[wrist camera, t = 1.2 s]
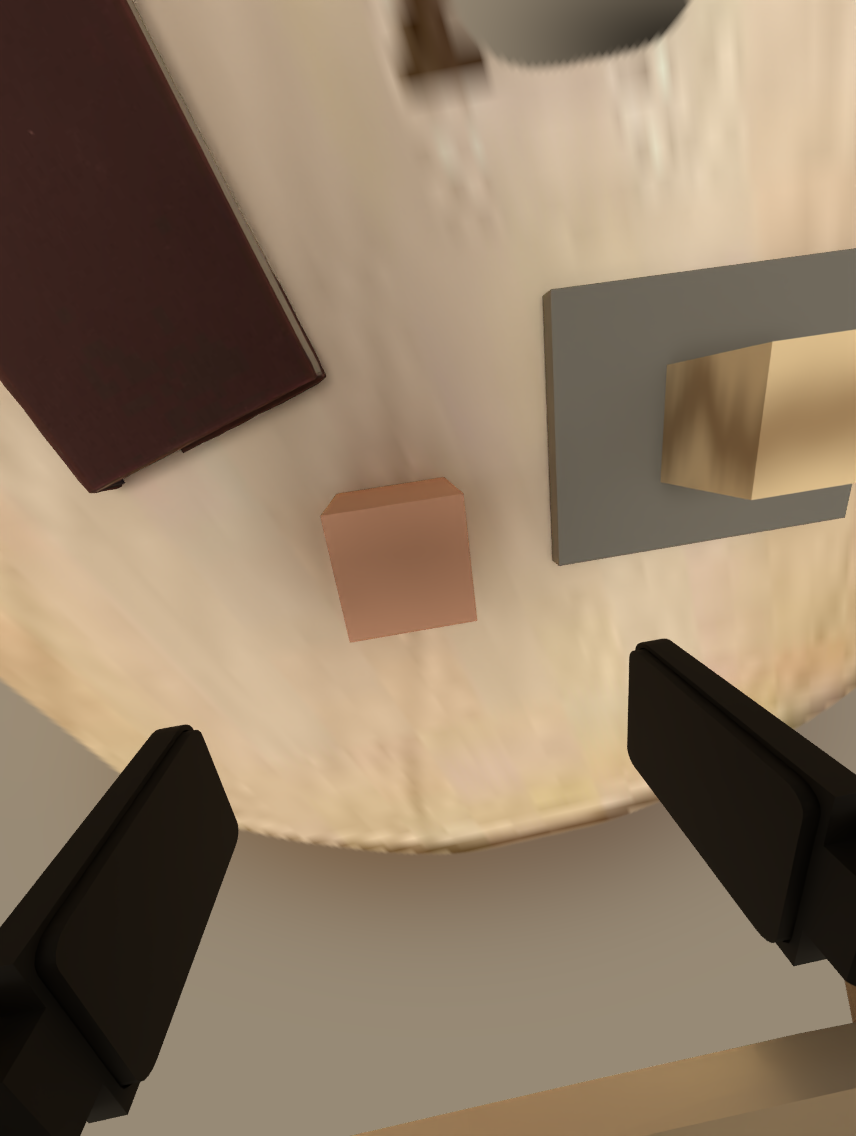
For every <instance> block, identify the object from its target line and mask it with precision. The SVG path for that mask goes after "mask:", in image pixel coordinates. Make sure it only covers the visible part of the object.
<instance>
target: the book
mask: <svg viewBox="0 0 856 1136" xmlns="http://www.w3.org/2000/svg"><path fill="white" fill-rule="evenodd" d="M325 377H326V375H325V373H324V370H323V368H322V366H321V364H320V361H319V359H318V357H317V355H316V353H315V351H314V349H313V347H312V345H311V343H310V341H309V339H308V338H307V336H306V334H305V332H304V330H303V328H302V326H301V325H300V323H299V321H298V319H297V317H296V315H295V313H294V311H293V309H292V307H291V305H290V303H289V301H288V299H287V297H286V295H285V293H284V291H283V289H282V287H281V285H280V284H279V282H278V280H277V279H276V277H275V275H274V273H273V272H272V270H271V268H270V266H269V264H268V262H267V260H266V258H265V256H264V254H263V252H262V250H261V249H260V247H259V245H258V243H257V241H256V240H255V238H254V236H253V234H252V232H251V230H250V228H249V227H248V225H247V223H246V221H245V219H244V217H243V215H242V213H241V211H240V210H239V208H238V206H237V204H236V202H235V200H234V198H233V196H232V194H231V192H230V190H229V188H228V186H227V184H226V182H225V181H224V179H223V177H222V175H221V173H220V171H219V169H218V167H217V165H216V163H215V161H214V159H213V158H212V156H211V154H210V152H209V150H208V148H207V146H206V144H205V142H204V140H203V138H202V136H201V134H200V133H199V131H198V129H197V127H196V125H195V123H194V121H193V119H192V117H191V115H190V113H189V111H188V109H187V107H186V105H185V103H184V101H183V99H182V98H181V96H180V94H179V92H178V90H177V88H176V86H175V85H174V83H173V81H172V79H171V77H170V75H169V73H168V71H167V69H166V67H165V65H164V63H163V61H162V59H161V57H160V55H159V53H158V51H157V49H156V47H155V45H154V43H153V41H152V39H151V37H150V35H149V33H148V31H147V29H146V28H145V26H144V24H143V22H142V20H141V18H140V16H139V14H138V12H137V10H136V8H135V6H134V4H133V2H132V0H0V380H1V382H2V383H3V385H4V386H5V387H6V389H7V390H8V391H9V392H10V393H11V395H12V396H13V397H14V398H15V399H16V401H17V402H18V403H19V404H20V405H21V407H22V408H23V409H24V410H25V412H26V413H27V415H28V416H29V417H30V419H31V420H32V421H33V423H34V424H35V425H36V427H37V428H38V429H39V431H40V432H41V433H42V435H43V436H44V437H45V439H46V440H47V441H48V442H49V444H50V445H51V446H52V447H53V449H54V450H55V451H56V452H57V454H58V455H59V456H60V457H61V459H62V460H63V461H64V462H65V464H66V465H67V466H68V468H69V469H70V470H71V472H72V473H73V474H74V475H75V477H76V478H77V479H78V481H79V482H80V483H81V484H82V485H83V486H84V487H85V488H86V489H87V491H88V492H89V493H98V492H101V491H107V490H113V489H117V488H119V487H122V484H124V483H125V482H124V480H123V478H125V477H127V476H129V475H131V474H132V473H134V472H136V471H138V470H140V469H142V468H144V467H146V466H148V465H150V464H152V463H154V462H156V461H158V460H160V459H162V458H164V457H166V456H168V455H170V454H172V453H174V452H176V451H178V450H180V449H181V451H182V452H183V453H184V452H186V451H188V450H190V449H192V448H194V447H196V446H198V445H200V444H201V443H203V442H206V441H208V440H210V439H212V438H215V437H217V436H219V435H221V434H222V433H224V432H226V431H228V430H230V429H232V428H234V427H237V426H239V425H240V424H243V423H244V422H246V421H248V420H249V419H251V418H253V417H254V416H256V415H258V414H260V413H262V412H265V411H267V410H269V409H271V408H273V407H276V406H278V405H280V404H282V403H284V402H285V401H287V400H289V399H291V398H293V397H295V396H296V395H298V394H300V393H302V392H304V391H306V390H307V389H309V388H311V387H313V386H315V385H317V384H318V383H319V382H321V381H322V380H323V379H324V378H325Z"/></svg>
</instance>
